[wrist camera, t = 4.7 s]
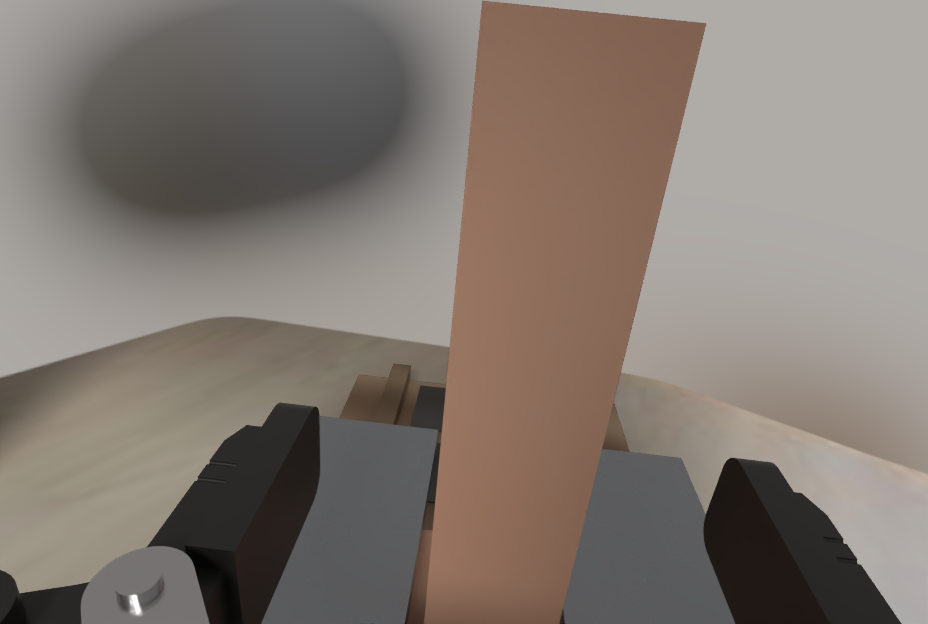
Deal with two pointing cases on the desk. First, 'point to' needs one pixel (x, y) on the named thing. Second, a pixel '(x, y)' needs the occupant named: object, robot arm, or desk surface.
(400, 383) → the track board
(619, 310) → the pink post on block
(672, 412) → the desk surface
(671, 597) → the tunnel
